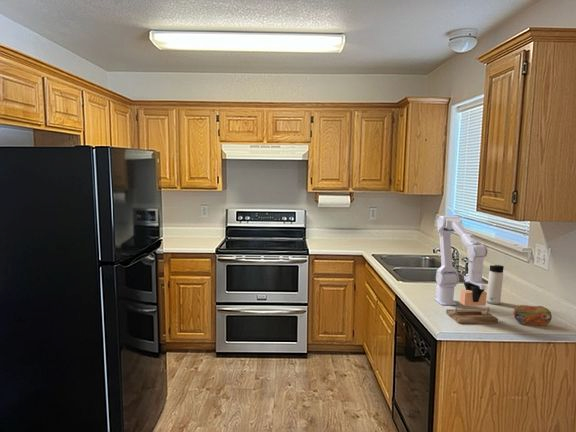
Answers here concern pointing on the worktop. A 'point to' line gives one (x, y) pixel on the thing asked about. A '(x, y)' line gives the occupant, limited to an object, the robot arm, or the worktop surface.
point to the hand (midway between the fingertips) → (472, 300)
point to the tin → (532, 315)
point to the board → (471, 316)
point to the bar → (467, 298)
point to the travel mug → (495, 284)
